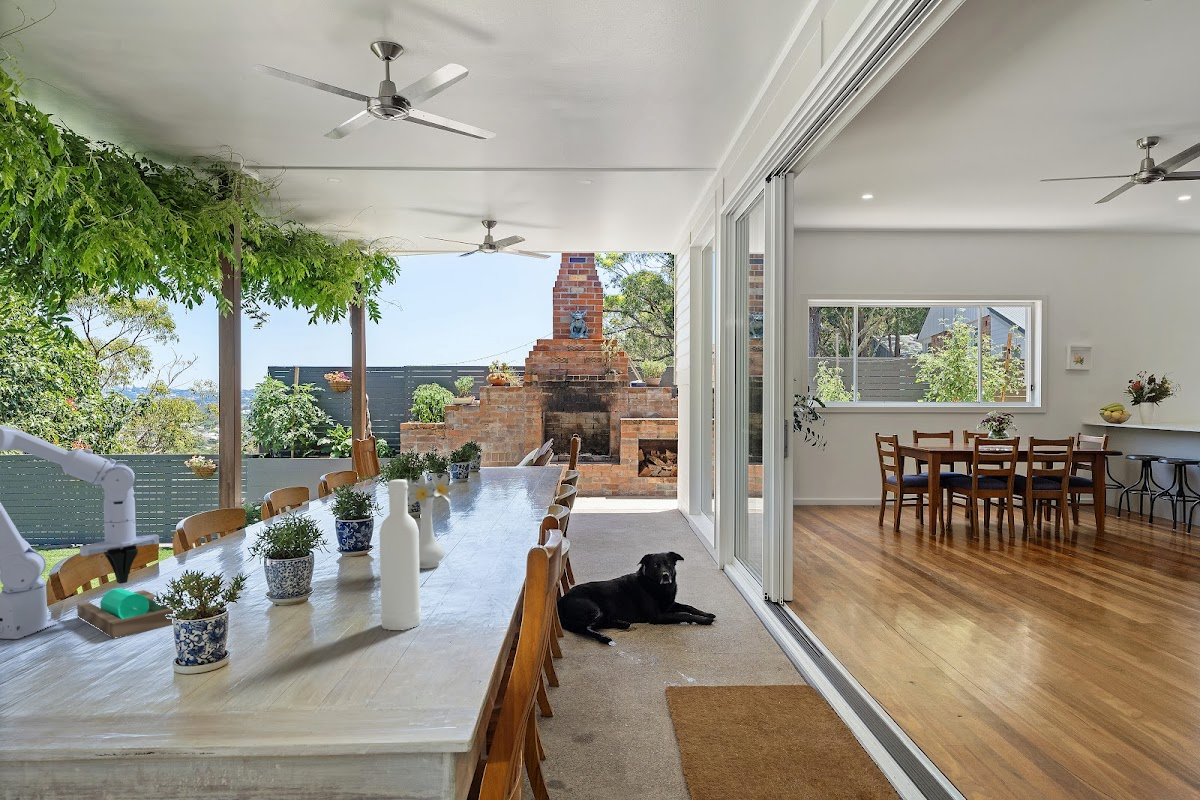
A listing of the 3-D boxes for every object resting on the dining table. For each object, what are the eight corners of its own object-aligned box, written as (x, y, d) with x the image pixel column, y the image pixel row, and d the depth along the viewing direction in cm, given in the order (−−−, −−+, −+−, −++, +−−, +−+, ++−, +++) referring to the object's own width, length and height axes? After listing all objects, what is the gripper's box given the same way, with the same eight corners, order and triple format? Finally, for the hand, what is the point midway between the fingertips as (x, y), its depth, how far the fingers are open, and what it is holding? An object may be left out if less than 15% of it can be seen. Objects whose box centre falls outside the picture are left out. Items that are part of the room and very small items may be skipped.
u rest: (77, 617, 159) (77, 604, 159) (144, 602, 169) (143, 590, 169) (113, 639, 145) (113, 624, 145) (183, 621, 155) (183, 607, 155)
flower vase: (397, 560, 205) (395, 472, 205) (463, 560, 205) (461, 471, 204) (383, 573, 192) (381, 478, 192) (453, 572, 192) (451, 477, 191)
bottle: (410, 632, 146) (406, 483, 146) (374, 630, 148) (370, 482, 147) (427, 619, 154) (424, 477, 153) (393, 617, 156) (389, 477, 155)
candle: (105, 621, 159) (126, 629, 151) (95, 596, 158) (116, 603, 150) (135, 607, 163) (156, 614, 156) (125, 583, 162) (146, 589, 155)
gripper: (86, 528, 151) (89, 593, 151) (163, 517, 162) (165, 577, 163) (75, 524, 155) (78, 587, 156) (151, 513, 167) (153, 572, 167)
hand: (122, 582), depth 160 cm, fingers closed
